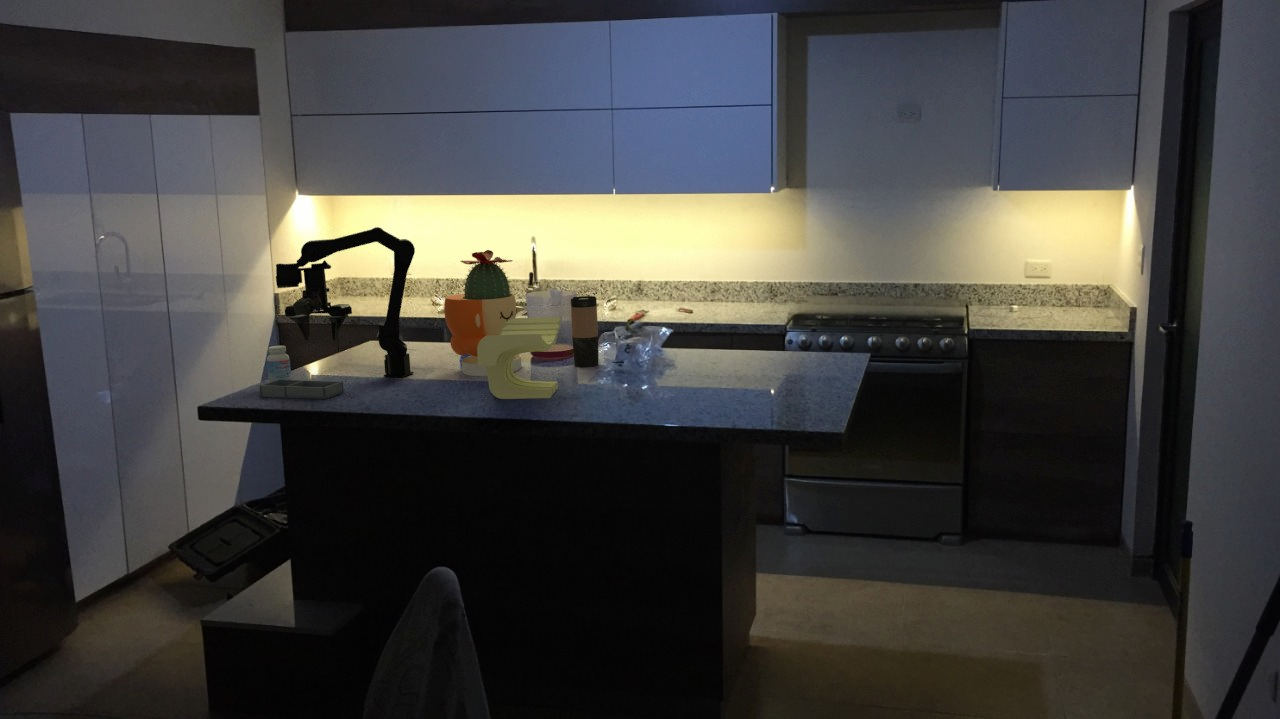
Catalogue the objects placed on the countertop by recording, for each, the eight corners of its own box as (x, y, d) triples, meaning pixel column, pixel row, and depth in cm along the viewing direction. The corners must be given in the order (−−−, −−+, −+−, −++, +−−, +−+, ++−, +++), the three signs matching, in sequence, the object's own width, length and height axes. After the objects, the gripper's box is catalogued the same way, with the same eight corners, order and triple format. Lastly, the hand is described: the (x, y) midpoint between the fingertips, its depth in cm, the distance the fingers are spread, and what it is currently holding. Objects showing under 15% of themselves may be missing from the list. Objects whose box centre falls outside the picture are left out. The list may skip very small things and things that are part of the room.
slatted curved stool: (505, 382, 302) (502, 318, 299) (563, 381, 301) (560, 317, 298) (480, 406, 273) (476, 335, 270) (544, 405, 271) (540, 334, 268)
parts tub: (343, 392, 296) (342, 381, 296) (325, 399, 288) (324, 387, 288) (280, 390, 303) (279, 379, 302) (260, 396, 295) (259, 385, 295)
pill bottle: (279, 389, 304) (275, 349, 303) (264, 387, 308) (260, 347, 306) (296, 385, 310) (293, 345, 308) (281, 383, 313) (278, 344, 311)
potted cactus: (529, 362, 333) (523, 246, 326) (508, 376, 311) (501, 252, 305) (461, 362, 336) (454, 248, 330) (436, 376, 315) (427, 254, 309)
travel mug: (604, 364, 324) (601, 297, 320) (582, 368, 319) (579, 299, 316) (590, 361, 330) (587, 295, 326) (568, 364, 326) (565, 297, 322)
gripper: (269, 289, 305) (275, 345, 307) (327, 288, 299) (332, 345, 301) (294, 284, 315) (299, 338, 318) (350, 284, 309) (355, 338, 312)
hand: (321, 340), depth 312 cm, fingers open, 9 cm apart
